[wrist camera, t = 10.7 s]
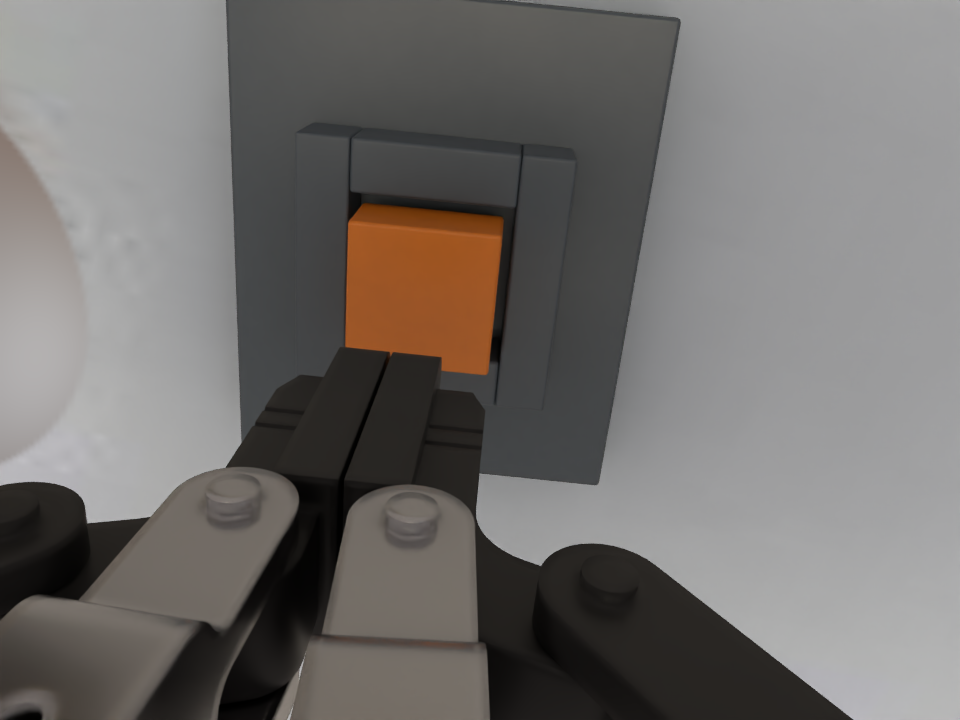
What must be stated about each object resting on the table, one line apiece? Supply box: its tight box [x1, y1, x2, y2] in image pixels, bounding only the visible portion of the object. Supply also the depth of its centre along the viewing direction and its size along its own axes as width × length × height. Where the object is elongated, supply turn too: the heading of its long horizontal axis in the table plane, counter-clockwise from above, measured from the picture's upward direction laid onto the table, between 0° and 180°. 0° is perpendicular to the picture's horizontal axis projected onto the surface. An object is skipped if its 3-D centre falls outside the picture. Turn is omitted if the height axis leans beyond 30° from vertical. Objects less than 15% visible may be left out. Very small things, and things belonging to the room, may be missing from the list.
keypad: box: [226, 0, 681, 485], centre depth 20 cm, size 12×10×3 cm
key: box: [345, 203, 504, 375], centre depth 18 cm, size 3×3×2 cm
